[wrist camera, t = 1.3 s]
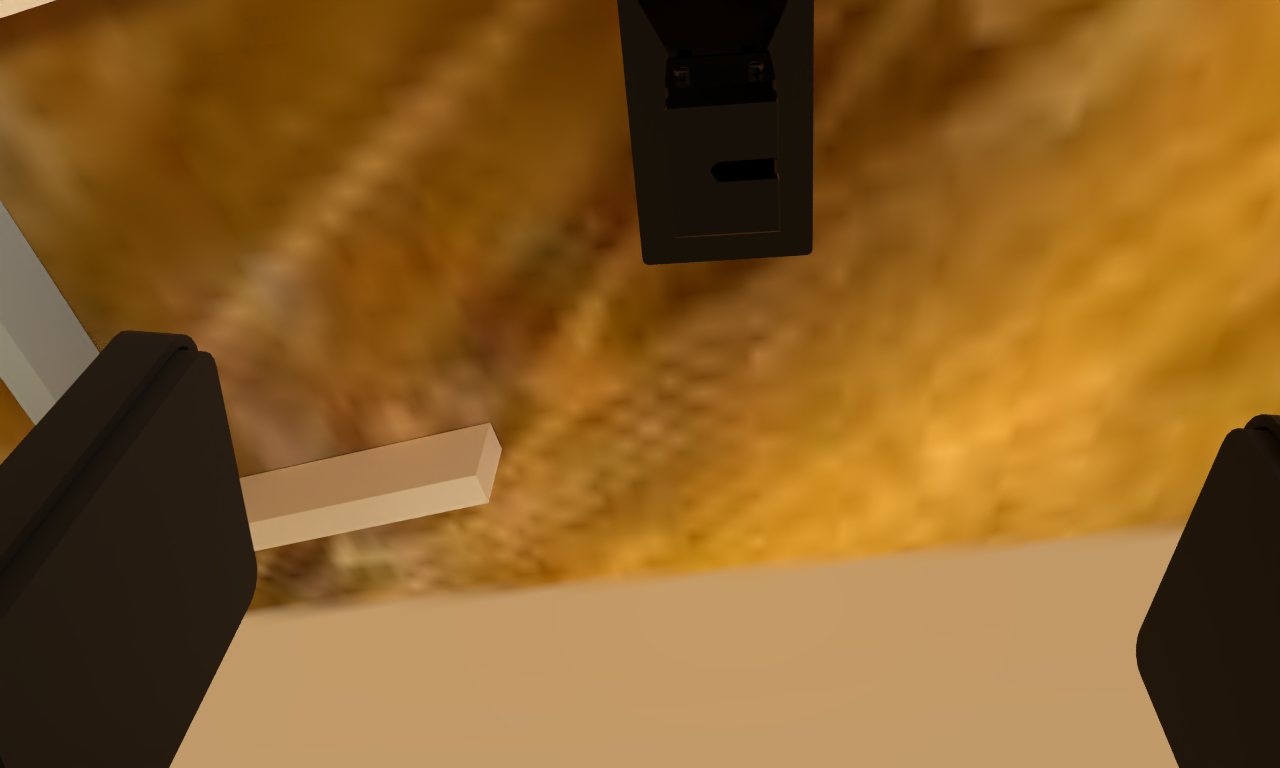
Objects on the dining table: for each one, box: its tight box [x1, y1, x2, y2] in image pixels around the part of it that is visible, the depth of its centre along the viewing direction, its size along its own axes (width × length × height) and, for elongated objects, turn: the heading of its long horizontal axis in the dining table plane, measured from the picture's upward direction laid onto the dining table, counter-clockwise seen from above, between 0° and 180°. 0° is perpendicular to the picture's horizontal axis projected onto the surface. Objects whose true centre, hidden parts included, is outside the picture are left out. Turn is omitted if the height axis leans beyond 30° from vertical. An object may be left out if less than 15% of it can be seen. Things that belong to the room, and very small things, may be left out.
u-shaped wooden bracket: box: [0, 0, 502, 551], centre depth 33 cm, size 13×19×3 cm
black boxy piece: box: [617, 0, 814, 265], centre depth 30 cm, size 12×7×5 cm, turn 5°
